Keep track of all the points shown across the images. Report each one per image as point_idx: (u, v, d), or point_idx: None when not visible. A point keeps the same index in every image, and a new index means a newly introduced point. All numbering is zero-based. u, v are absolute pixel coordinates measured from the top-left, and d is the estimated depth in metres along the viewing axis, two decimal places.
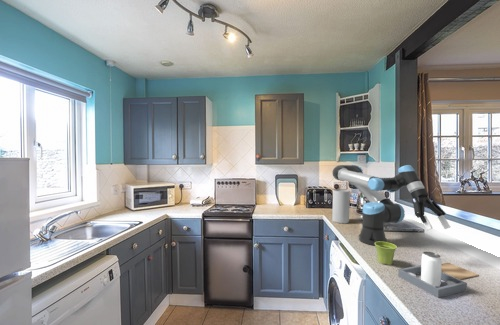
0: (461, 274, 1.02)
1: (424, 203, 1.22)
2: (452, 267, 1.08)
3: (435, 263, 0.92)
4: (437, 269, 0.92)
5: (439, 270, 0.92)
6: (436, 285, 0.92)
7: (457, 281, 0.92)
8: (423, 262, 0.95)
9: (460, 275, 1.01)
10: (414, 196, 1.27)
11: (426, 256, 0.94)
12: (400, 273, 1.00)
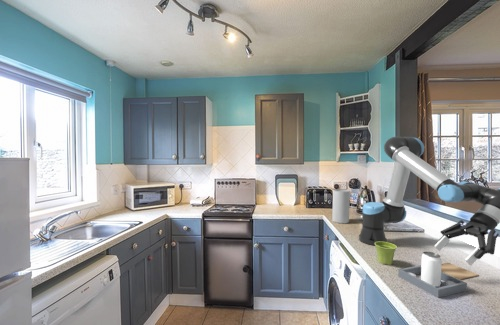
0: (461, 274, 1.02)
1: None
2: (452, 267, 1.08)
3: (435, 263, 0.92)
4: (437, 269, 0.92)
5: (439, 270, 0.92)
6: (436, 285, 0.92)
7: (457, 281, 0.92)
8: (423, 262, 0.95)
9: (460, 275, 1.01)
10: (490, 224, 0.91)
11: (426, 256, 0.94)
12: (400, 273, 1.00)
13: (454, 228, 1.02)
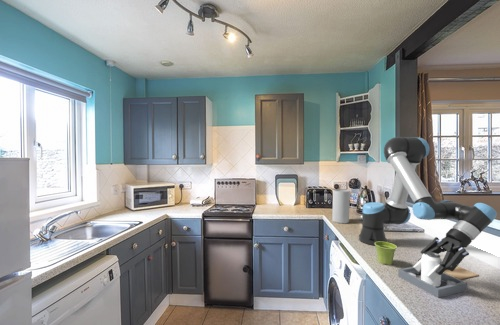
0: (461, 274, 1.02)
1: None
2: None
3: (435, 263, 0.92)
4: None
5: None
6: (436, 285, 0.92)
7: (457, 281, 0.92)
8: (423, 262, 0.95)
9: (460, 275, 1.01)
10: (463, 241, 0.92)
11: (426, 256, 0.94)
12: (400, 273, 1.00)
13: (432, 246, 1.01)
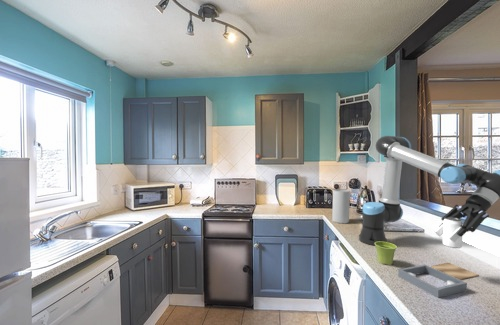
0: (461, 274, 1.02)
1: None
2: (452, 267, 1.08)
3: (457, 226, 0.99)
4: None
5: None
6: (457, 246, 0.99)
7: (457, 281, 0.92)
8: (444, 226, 1.02)
9: (460, 275, 1.01)
10: (483, 205, 0.98)
11: (447, 220, 1.01)
12: (400, 273, 1.00)
13: (452, 213, 1.07)
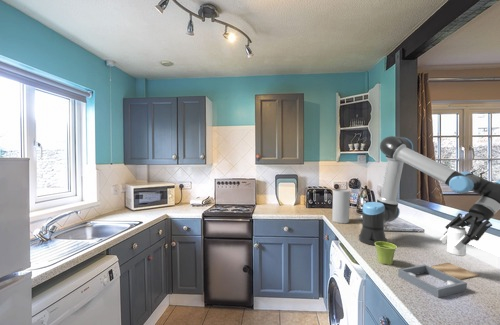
0: (461, 274, 1.02)
1: None
2: (452, 267, 1.08)
3: (461, 235, 1.02)
4: None
5: None
6: (462, 254, 1.02)
7: (457, 281, 0.92)
8: (449, 234, 1.05)
9: (460, 275, 1.01)
10: (486, 214, 1.02)
11: (452, 229, 1.04)
12: (400, 273, 1.00)
13: (456, 221, 1.10)
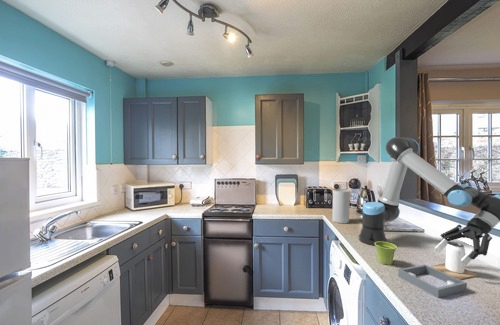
0: (461, 274, 1.02)
1: None
2: None
3: (460, 252, 1.02)
4: (461, 258, 1.02)
5: None
6: (460, 272, 1.03)
7: (457, 281, 0.92)
8: (448, 251, 1.05)
9: (460, 275, 1.01)
10: (484, 228, 1.02)
11: (451, 246, 1.05)
12: (400, 273, 1.00)
13: (453, 232, 1.12)
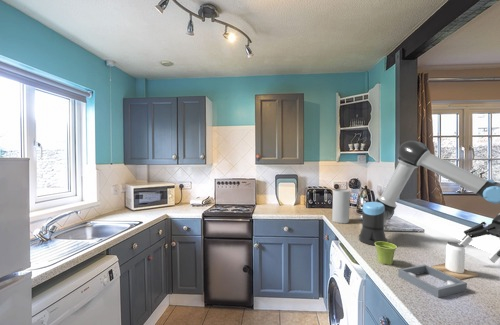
0: (461, 274, 1.02)
1: None
2: None
3: (460, 252, 1.02)
4: (461, 258, 1.02)
5: (463, 258, 1.02)
6: (460, 272, 1.03)
7: (457, 281, 0.92)
8: (448, 251, 1.05)
9: (460, 275, 1.01)
10: None
11: (451, 246, 1.05)
12: (400, 273, 1.00)
13: (477, 229, 1.13)
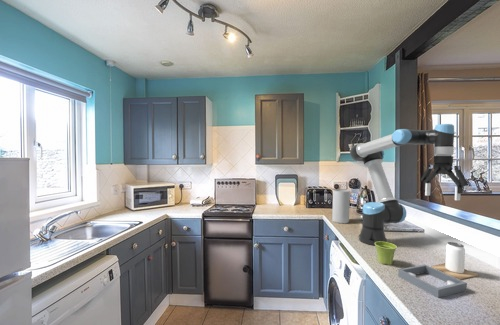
0: (461, 274, 1.02)
1: None
2: None
3: (460, 252, 1.02)
4: (461, 258, 1.02)
5: (463, 258, 1.02)
6: (460, 272, 1.03)
7: (457, 281, 0.92)
8: (448, 251, 1.05)
9: (460, 275, 1.01)
10: (450, 161, 1.12)
11: (451, 246, 1.05)
12: (400, 273, 1.00)
13: (427, 173, 1.22)
